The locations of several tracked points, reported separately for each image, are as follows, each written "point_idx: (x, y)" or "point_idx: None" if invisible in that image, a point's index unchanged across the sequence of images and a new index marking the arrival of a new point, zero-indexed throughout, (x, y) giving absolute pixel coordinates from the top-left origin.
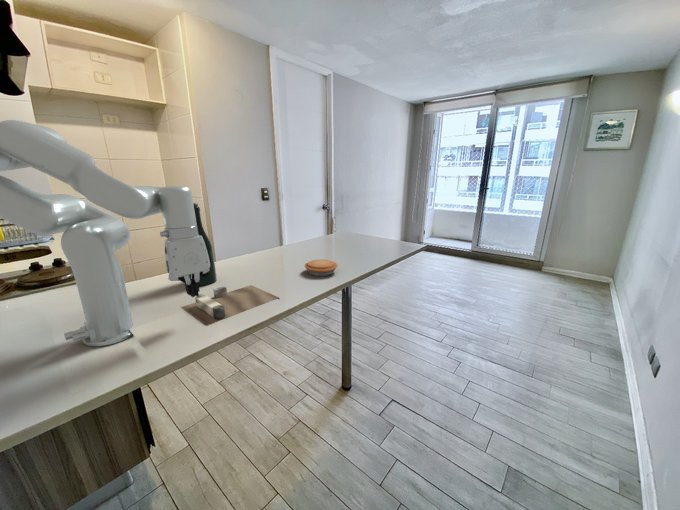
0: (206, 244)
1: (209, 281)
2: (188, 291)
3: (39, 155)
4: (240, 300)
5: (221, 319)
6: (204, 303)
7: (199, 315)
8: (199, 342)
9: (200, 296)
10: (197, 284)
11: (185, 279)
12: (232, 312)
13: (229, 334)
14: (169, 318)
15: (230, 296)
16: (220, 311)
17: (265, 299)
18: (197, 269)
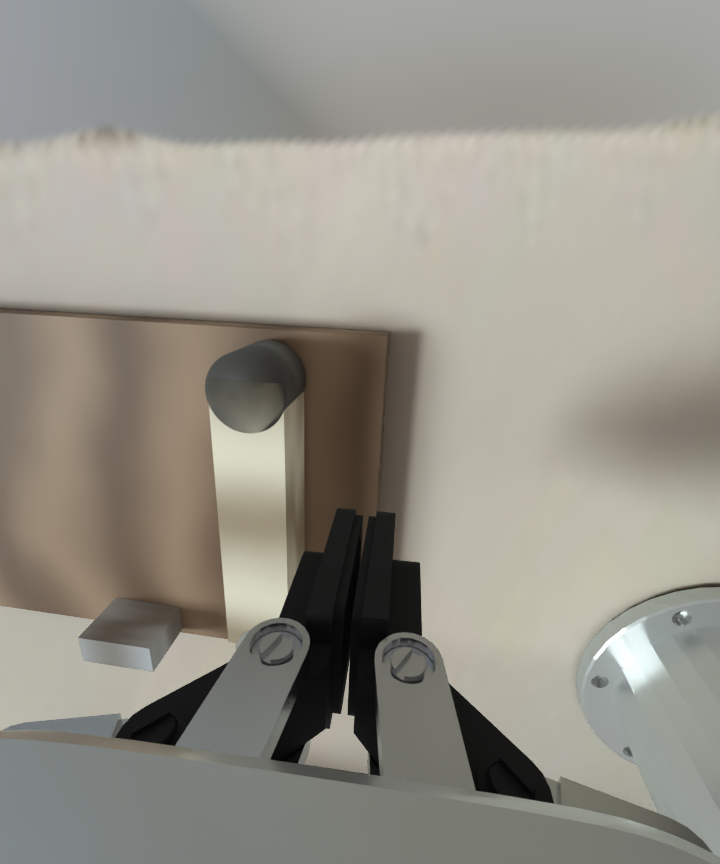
0: None
1: None
2: (418, 582)
3: None
4: (81, 475)
5: (278, 337)
6: (286, 530)
7: (346, 494)
8: (495, 226)
9: None
10: (294, 608)
11: (452, 732)
12: (184, 367)
13: (320, 158)
14: (447, 618)
15: (108, 565)
16: (256, 349)
17: None
18: (162, 839)
